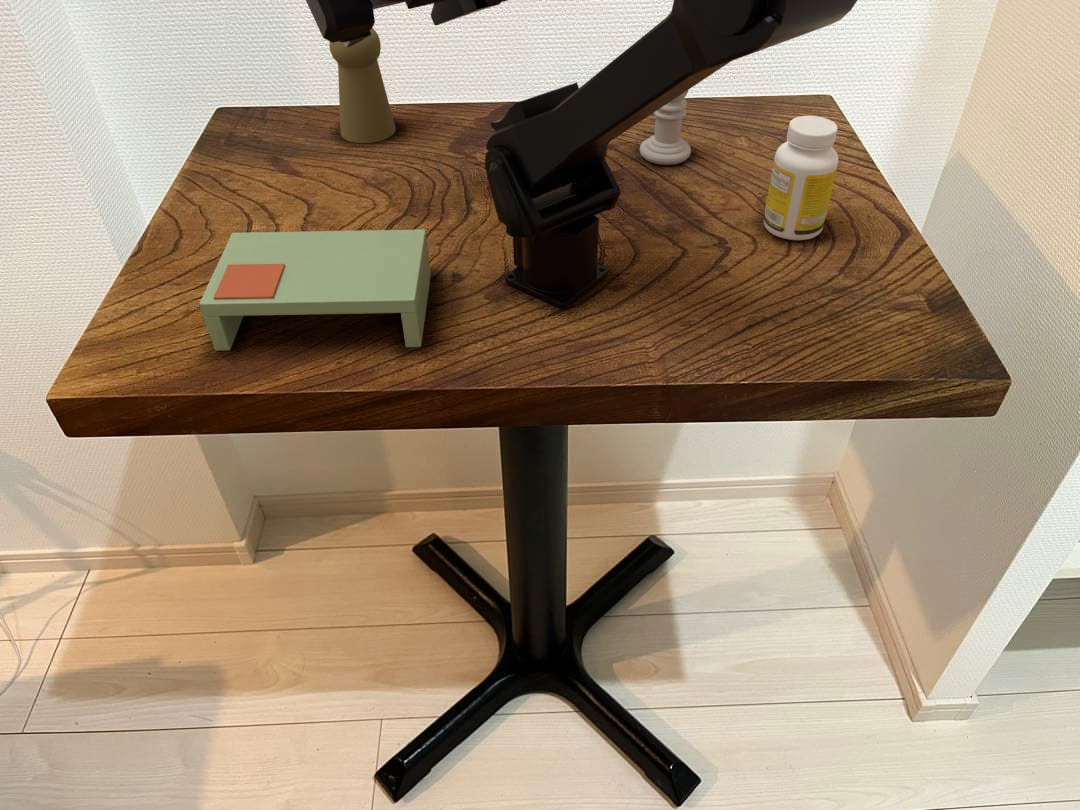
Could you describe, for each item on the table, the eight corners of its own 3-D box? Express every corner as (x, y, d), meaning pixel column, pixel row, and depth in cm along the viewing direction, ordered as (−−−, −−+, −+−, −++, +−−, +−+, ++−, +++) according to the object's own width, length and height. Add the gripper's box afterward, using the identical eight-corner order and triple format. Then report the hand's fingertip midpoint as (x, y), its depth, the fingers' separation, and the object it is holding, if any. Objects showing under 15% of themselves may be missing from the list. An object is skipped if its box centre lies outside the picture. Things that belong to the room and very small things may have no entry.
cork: (391, 143, 93) (377, 38, 85) (335, 143, 93) (316, 38, 85) (399, 118, 97) (386, 17, 90) (346, 118, 97) (328, 17, 90)
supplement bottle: (827, 219, 80) (852, 118, 74) (815, 247, 77) (840, 144, 70) (770, 207, 82) (789, 107, 75) (755, 234, 78) (774, 132, 72)
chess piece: (696, 148, 91) (707, 63, 85) (681, 170, 87) (690, 83, 81) (649, 139, 93) (656, 55, 87) (631, 160, 89) (637, 74, 83)
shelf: (421, 347, 67) (414, 297, 64) (214, 351, 67) (197, 301, 64) (430, 274, 74) (425, 226, 71) (245, 277, 74) (231, 230, 71)
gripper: (501, -192, 68) (441, -69, 82) (279, -163, 60) (255, -33, 75) (558, -60, 69) (490, 39, 83) (347, -15, 61) (310, 86, 75)
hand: (390, 30), depth 79 cm, fingers open, 9 cm apart
